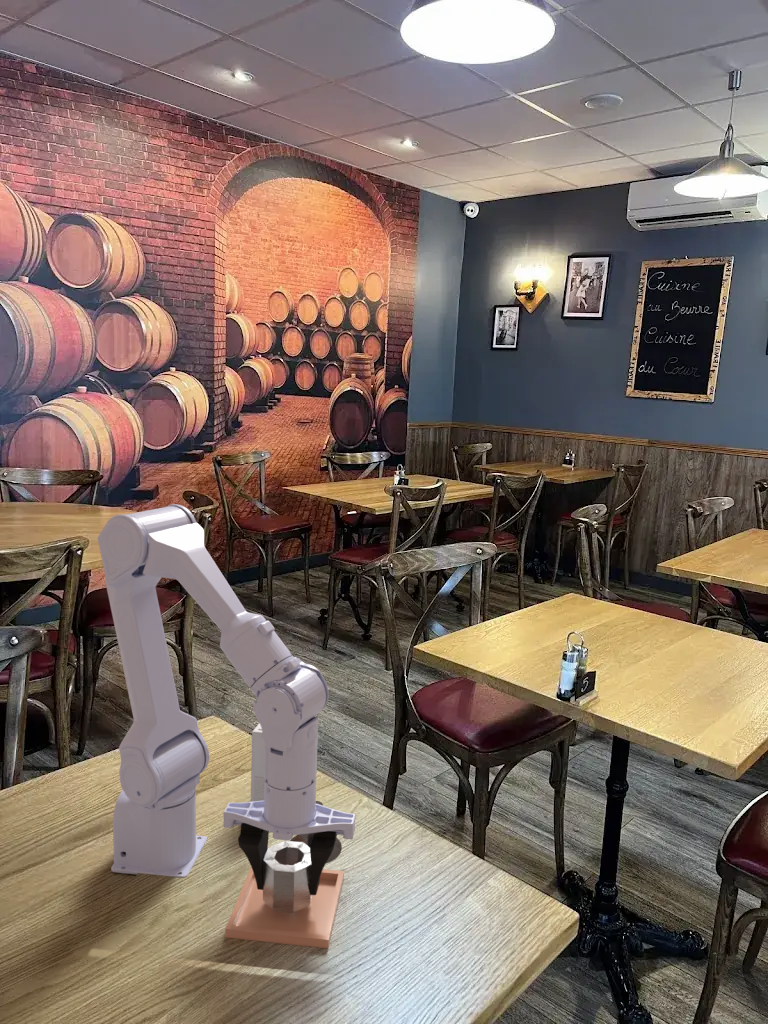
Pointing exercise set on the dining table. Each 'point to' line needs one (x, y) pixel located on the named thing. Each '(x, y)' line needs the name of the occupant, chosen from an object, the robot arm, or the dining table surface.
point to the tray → (287, 915)
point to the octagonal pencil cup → (287, 877)
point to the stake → (309, 837)
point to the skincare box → (257, 765)
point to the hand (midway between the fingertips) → (288, 886)
